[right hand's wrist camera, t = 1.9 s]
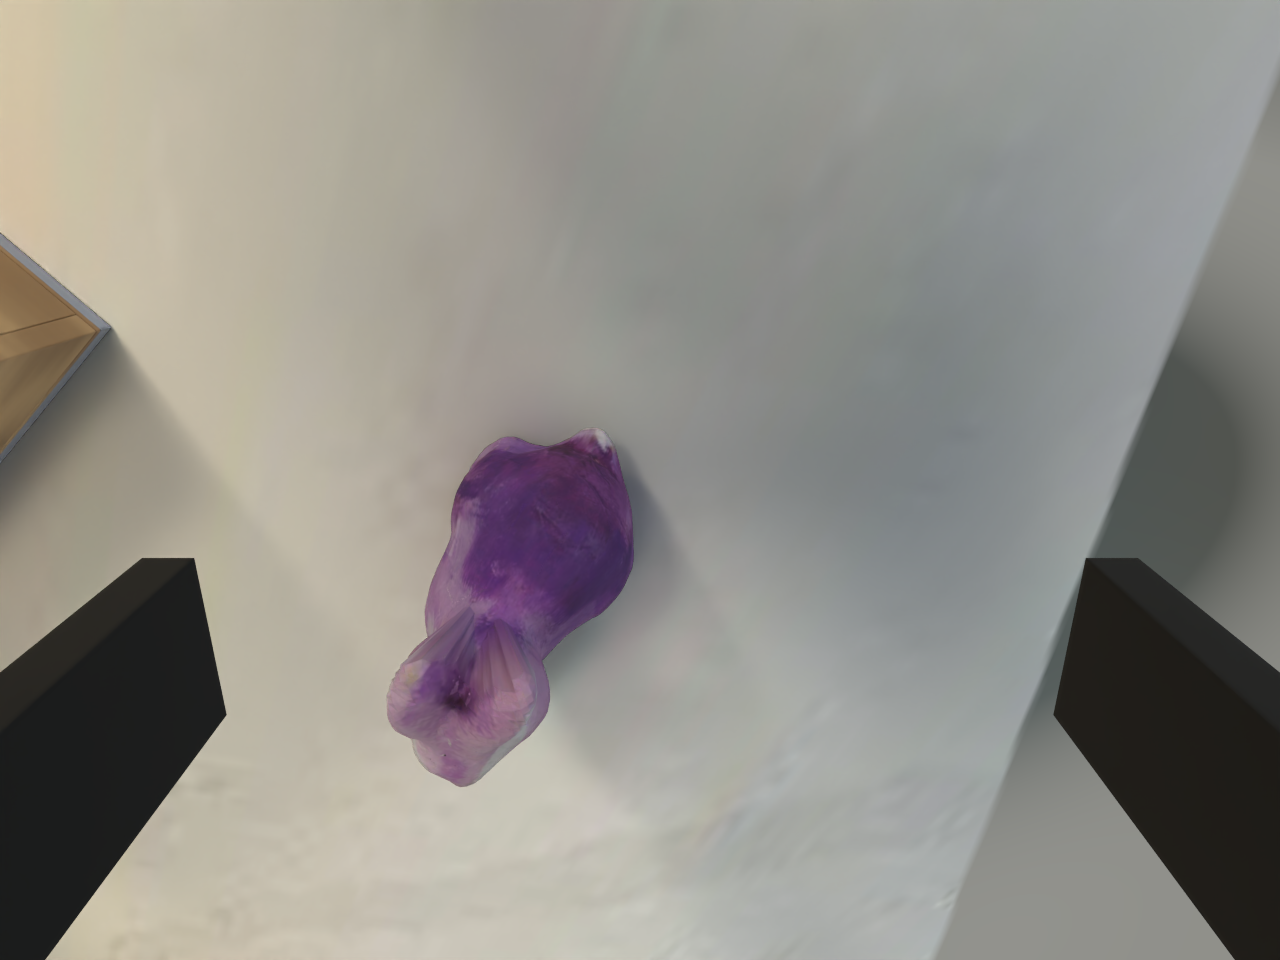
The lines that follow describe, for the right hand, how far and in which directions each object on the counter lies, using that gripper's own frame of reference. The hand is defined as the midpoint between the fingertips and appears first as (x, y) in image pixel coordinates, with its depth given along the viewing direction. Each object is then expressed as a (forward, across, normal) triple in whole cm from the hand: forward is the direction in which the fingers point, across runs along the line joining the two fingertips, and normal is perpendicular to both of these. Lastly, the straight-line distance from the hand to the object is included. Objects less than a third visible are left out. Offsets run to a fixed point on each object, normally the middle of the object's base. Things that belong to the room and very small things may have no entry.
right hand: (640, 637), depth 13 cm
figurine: (+25, -5, -10) cm, 27 cm away
